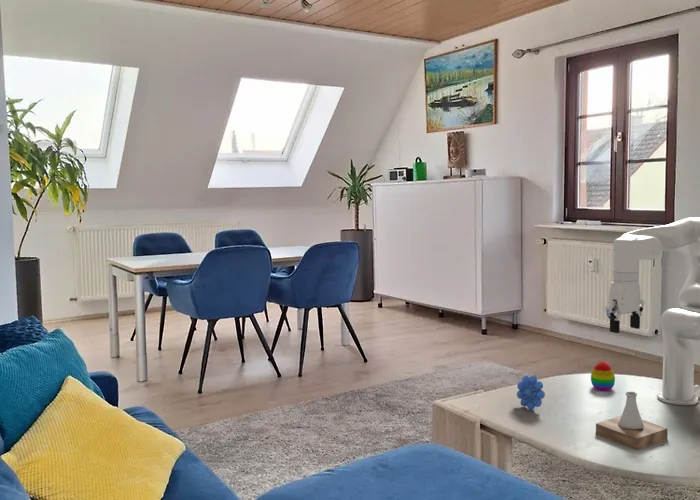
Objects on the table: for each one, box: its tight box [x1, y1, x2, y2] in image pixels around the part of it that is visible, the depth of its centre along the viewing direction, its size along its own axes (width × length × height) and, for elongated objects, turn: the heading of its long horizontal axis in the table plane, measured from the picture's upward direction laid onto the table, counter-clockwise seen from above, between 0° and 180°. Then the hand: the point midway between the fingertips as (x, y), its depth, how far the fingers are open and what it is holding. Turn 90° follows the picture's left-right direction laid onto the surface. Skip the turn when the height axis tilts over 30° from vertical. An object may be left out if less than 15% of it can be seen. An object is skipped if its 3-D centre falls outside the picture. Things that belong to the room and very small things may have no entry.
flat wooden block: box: [595, 415, 669, 451], centre depth 194 cm, size 14×14×4 cm
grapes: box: [516, 375, 546, 411], centre depth 218 cm, size 12×7×12 cm, turn 32°
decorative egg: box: [590, 361, 616, 392], centre depth 237 cm, size 8×8×10 cm
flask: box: [618, 391, 644, 430], centre depth 193 cm, size 7×7×10 cm
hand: (624, 330), depth 207 cm, fingers open, 9 cm apart
